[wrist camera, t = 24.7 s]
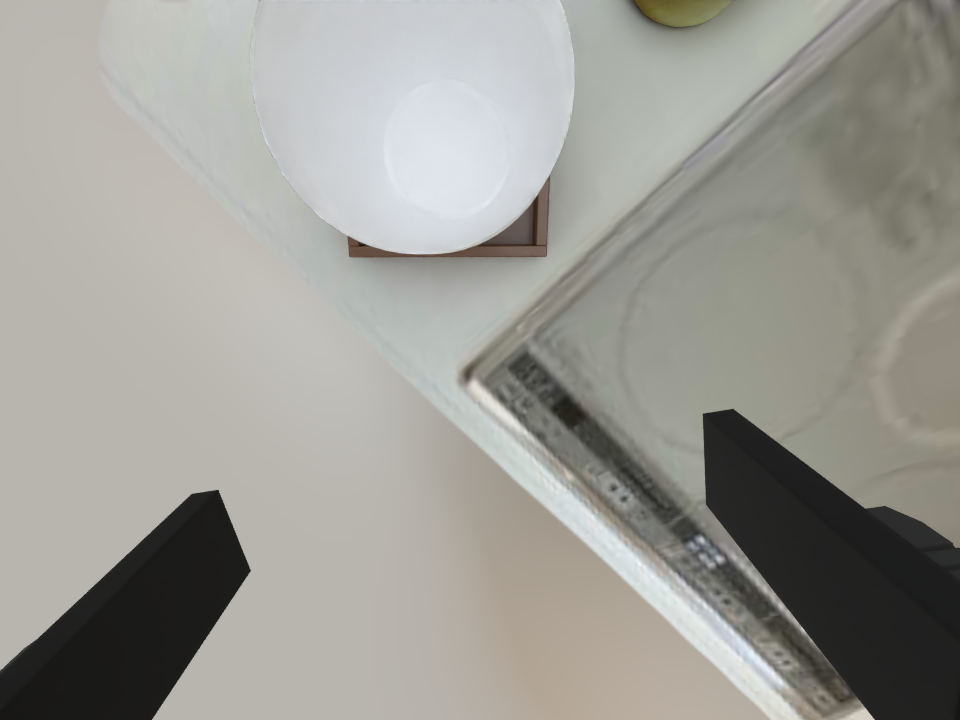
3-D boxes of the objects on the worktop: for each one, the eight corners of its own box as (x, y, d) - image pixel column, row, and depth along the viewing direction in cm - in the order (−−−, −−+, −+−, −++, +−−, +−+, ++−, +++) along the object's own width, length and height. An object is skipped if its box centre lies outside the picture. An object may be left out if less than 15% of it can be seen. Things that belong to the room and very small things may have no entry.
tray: (343, 43, 32) (329, 25, 29) (549, 42, 32) (555, 23, 29) (360, 254, 36) (349, 257, 33) (541, 253, 36) (546, 256, 33)
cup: (333, 187, 34) (195, 158, 18) (410, 13, 31) (326, -217, 15) (480, 272, 36) (476, 315, 20) (567, 116, 33) (650, 13, 16)
